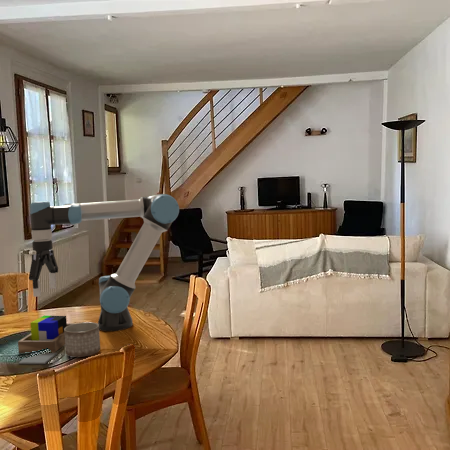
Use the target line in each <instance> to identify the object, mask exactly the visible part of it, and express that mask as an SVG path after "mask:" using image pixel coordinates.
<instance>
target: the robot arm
mask: <svg viewBox="0 0 450 450" xmlns="http://www.w3.org/2000/svg"><path fill="white" fill-rule="evenodd" d="M29 207H30V208H29V209H30V210H29V211H30V213H29V214H30V224H31V225H30V226H31V229H30V230H31V240H33V241H32V242H31V244H32V251H34V252H36V253H35V254H33V253H32V254H31V263H30V269H29V274H28V279H29V281H32V292H33V293H32V295H33V297H34V298H35V297H37V298H38V297H41V296H42V292H41V280H40V276H41V272H42V269H43V266H44V265H45V266H46V268H47V270H48V272H49V273H48V286H49V287H48V288H49V290H51V289H57V273H58V272H59V267H58V263H57V260H56V258H55V257H56V256H55V253H54V249H53V240H52V239H53V235H52V234H53V233H52V231H53V230H52V226H55V225H77V224H81V223H82V222H83V221H96V220H97V221H98V220H109V219H111V220H112V219H125V218H138V217H140V218H141V219H143V224H142V226H141V227H140V229H139V231H138V233H137V235H136V237H135V238H134V240H133V242H132V243H131V246H130V247H129V250H128V251H127V253H126V255H125V256H124V258H123V260H122V262H121V263H120V265H119V267H118V269H117V271H116V272H115V273H112V274H110V275H104V276H100V277H99V278H98V286H99V304H100V313H99V317H98V321H97V324H99V331H104V332H115V331H123V330H126V329H129V328H131V327H132V326H133V317H132V316H131V312H130V310H129V307H128V306H129V304H130V301H131V300H130V299H131V297H132V295H133V294H134V291H135V289H136V284H135V282H136V280H137V278H138V277H139V274H141V271H142V270H143V267H144V266H145V264H146V262H147V261H148V259H149V257H150V255H151V253H152V251H153V249H154V248H155V246H156V244H157V242H158V241H159V240H160V237H161V235H162V233H165V232H168V231H169V229H170V227H171V225H172V223H174V221H176V219H177V218H178V216H179V213H180V205H179V204H178V201H177V200H176V198H175V197H173V196H172V195H170V194H166V193H158V194H155V195H148V196H141V197H140V198H139V199H127V200H113V201H112V200H111V201H97V202H95V201H94V202H81V203H65V204H63V205H51V203H50V202H49V201H47V200H46V201H33V202H31V203H30V204H29Z"/></svg>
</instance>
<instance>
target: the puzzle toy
mask: <svg viewBox="0 0 450 450" xmlns="http://www.w3.org/2000/svg"><path fill="white" fill-rule="evenodd" d="M67 321H68V320H67V315H43V316H41V317H38V318H36V319H35V320H33V321H31V322H30V334H31V336H32V341H52V340H53V339H55V338H56V337H57V336H59V335H60V334H62V333H63V332H64V328H65V327H67V323H68V322H67Z"/></svg>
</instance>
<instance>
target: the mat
mask: <svg viewBox="0 0 450 450" xmlns="http://www.w3.org/2000/svg"><path fill="white" fill-rule="evenodd" d="M57 355H58V352H55V353H45V354H42V355H38V356H33V357H28V358H25V357H24V358H23V359H21V360H20V361H19V362H18V365H45V364H47V363H49V362H50V361H51V360H52V359H53V358H54V357H56V356H57Z"/></svg>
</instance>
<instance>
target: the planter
mask: <svg viewBox="0 0 450 450" xmlns="http://www.w3.org/2000/svg"><path fill="white" fill-rule="evenodd" d="M75 323H76V322H75ZM64 335H65V345H64V346H65V347H64V348H65V354H66V355H67V356H68V357H73V358H81V357H82V358H84V357H88V356H92V355H94V354H97V353H99V352H100V350H101V341H100V339H101V338H100V330H99V324H98V322H94V321H93V322H92V321H86V322H84V321H83V322H77V323H76V324H72V325H69V326H67V327H65V328H64Z"/></svg>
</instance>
